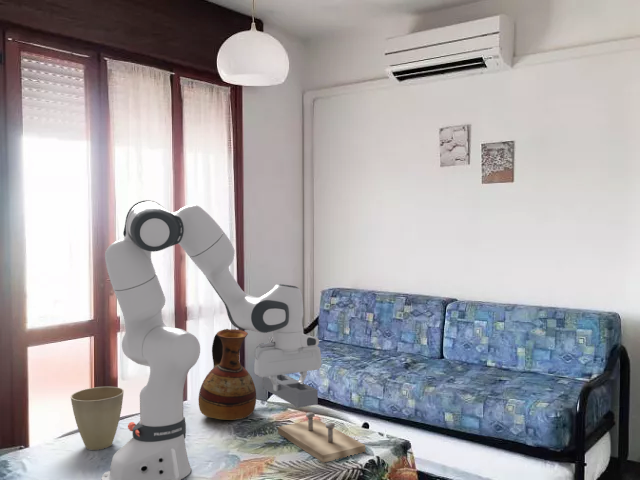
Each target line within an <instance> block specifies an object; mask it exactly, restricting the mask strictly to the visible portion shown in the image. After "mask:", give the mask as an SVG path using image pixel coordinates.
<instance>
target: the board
mask: <svg viewBox="0 0 640 480" xmlns="http://www.w3.org/2000/svg"><path fill="white" fill-rule="evenodd" d="M315 415H316V414H315V412H312V411H310V412H306V414H305V416H306V418H307V420H305V421H300V422H296V423H291V424H287V425H286V424H285V425H282V426H277V434H278V435H280V437H281V436H282V437H283V438H284V439H286V440H287V441H288V442H290V443H292V444H294V445H295V446H297V447H298V448H300V449H301V450H303V451H304V452H306V453H307V454H309V455H311V456H312V457H314V458H315V459H317V460H318V461H320V462H322V464H323V463H327V462H331V461H335V459H336V460H339V458H340V459H344V458H348V457H351V456H350V455H352V456H355V455H354V454H356V455H359V454H358V453H360V454H363V453H362V452H364V453H366V449H367V448H366V444H364V443H362V442H360V441H359V440H357V439H355V438H353V437H351V436H349V435H347V434H345V433H343V432H341V431H340V430H338V429H336V428H335V427H336V424H335V423H334V422H327V423H325V422H323V421H321V420H319V419H317V418H316V419H314V418H315ZM347 456H348V457H347ZM343 457H344V458H343Z"/></svg>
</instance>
